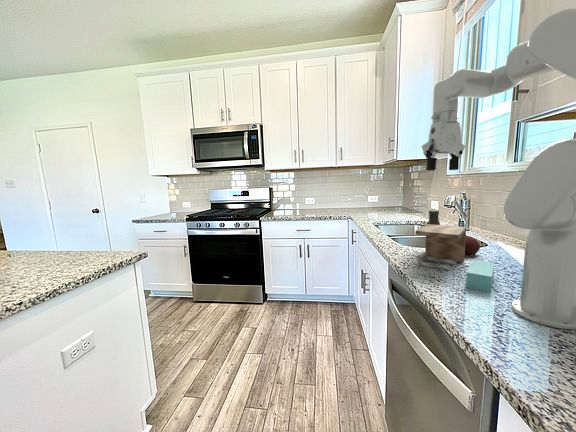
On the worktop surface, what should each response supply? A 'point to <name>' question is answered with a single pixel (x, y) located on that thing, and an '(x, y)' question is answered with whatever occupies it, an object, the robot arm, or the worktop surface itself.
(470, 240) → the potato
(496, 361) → the worktop surface
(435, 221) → the sauce bottle
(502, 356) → the worktop surface
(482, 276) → the teal rectangular block
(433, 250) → the overhang shelf
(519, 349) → the worktop surface
